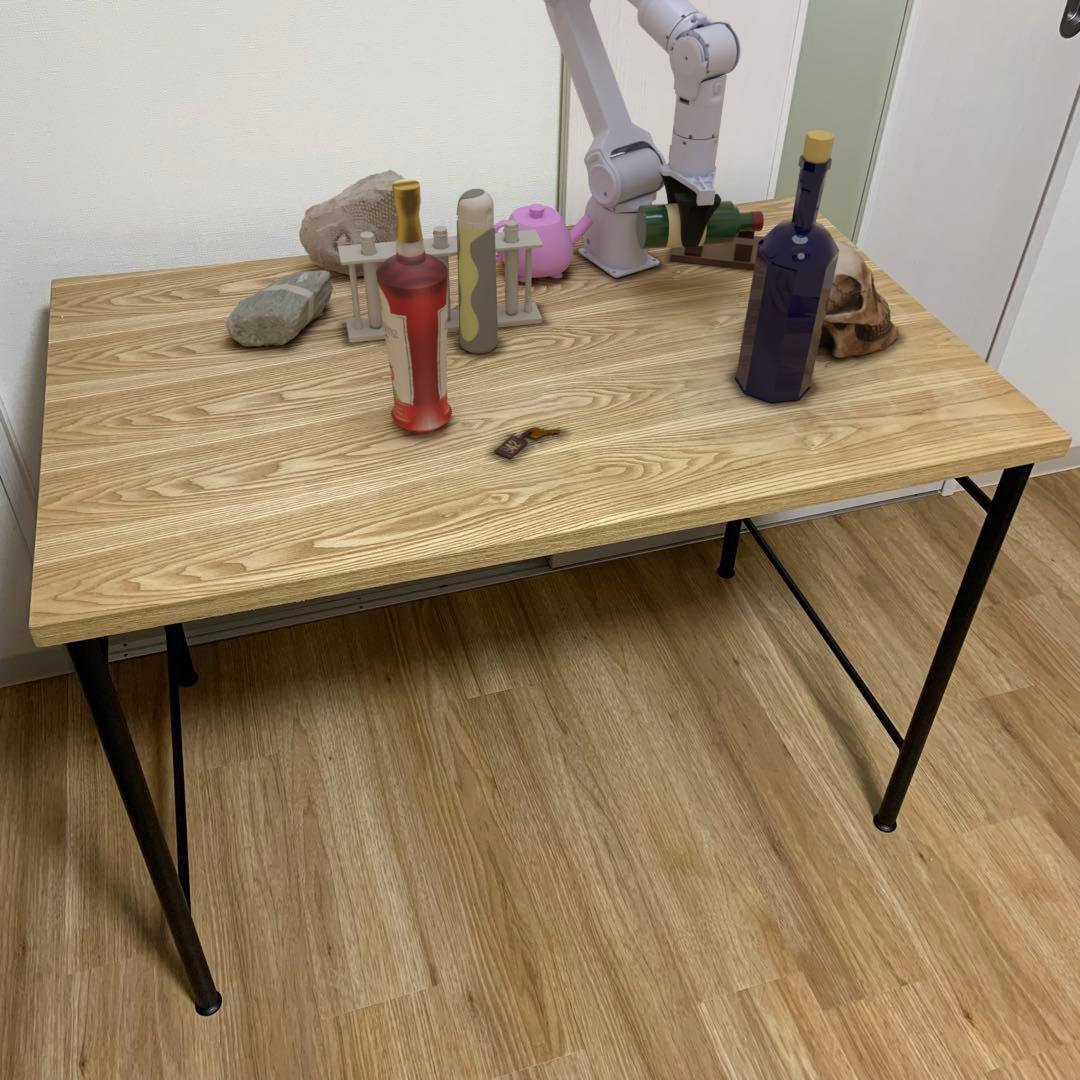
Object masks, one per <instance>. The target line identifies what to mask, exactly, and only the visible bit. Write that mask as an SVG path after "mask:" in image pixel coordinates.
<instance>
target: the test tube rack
mask: <svg viewBox="0 0 1080 1080" xmlns="http://www.w3.org/2000/svg"><path fill="white" fill-rule="evenodd" d="M507 220H508V219H507ZM503 229H505V232H503V231H501V232H498V233H495V252H496V251H505V264H504V304H497V322H498V328H509V327H517V326H528V325H529V326H530V325H539V324H543V317H542V314H541V312H540V310H539V307H538V305H537V303H536V301H532V280H531V276H532V249H533V248H541V247H543V244H542V241H541V239H540V237H539V235H538V233H537V231H536V230H523V231H518V229H519V226H518V222H517V221H515V220H508V221H506V222H505V225H504V227H503ZM432 235H433V237H432V238H431V237H430V238H423V242H424V249H425V253H427V254H430V255H432V256H434V257H435V258H437V259H438V260H440V261H441V262H443V263H444V264H445V265H446V267H447V269H448V286H447V292H448V322H447V334H450V333H459V308H456V309H455V308H454V309H451V308H452V307H451V285H450V262H449V257H451V256H457V235H454V236H448V235H449V232H448V228H447V227H446V226H444V225H436V226H434V227H433V231H432ZM360 237H361V238H360V241H361V244H359V245H348V246H338V251H339V256H340V262H341V265H348V266H349V275H348V276H349V282H350V283H349V284H350V292H351V300H352V309H353V317H354V318H352V319H346V320H345V324H346V330H347V336H348V342H349V343H350V344H352V343H361V342H371V341H381V340H386V338H385V332H384V326H383V320H382V313H381V306H380V298H379V290H378V284H377V277H376V270H377V262H383V261H385V260H387V259H388V258H389V257H391V256H393V255H395V254H396V241H394V242H383V243H375V237H374V234H373V233H372V232H364V233H361V234H360ZM504 240H505V241H504ZM518 240H519V241H518ZM519 249H526V250H525V282H524V287H525V288H524V302H519V280H518V278H519V275H518V250H519ZM361 253H362V254H361ZM361 263H363V270H364V276H363V279H364V288H365V298H366V307H367V316H368V317H363V318H361V317H362V315H361V307H360V297H359V288H358V278H357V277H356V269H355V264H361Z"/></svg>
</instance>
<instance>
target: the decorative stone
mask: <svg viewBox="0 0 1080 1080" xmlns="http://www.w3.org/2000/svg"><path fill="white" fill-rule="evenodd" d="M333 290H334V287H333V284H332V275H331V273H330V271H329V270H321V269H320V270H314V271H313V270H307V271H300V272H297V273H296V272H295V273H293V274H291V275H285V276H283V277H281V278H279V279H278V280H275V281H274V282H272V283H270V284H269V285H267V286H266V287H263V288H262V289H260V290H258V291H257V292H256V293H253V294H251V295H248V296H247V297H244V298H241V299H239V300H238V304H237V306H236V307H235V308H234V309H233V311H232V312H231V313H230V314H229V316H228V317H227V319H226V321H225V324H226V325H225V326H226V328H227V332H228V333H229V335H230V336H231V338H232V339H233V340H234V342H237V343H239V344H240V345H241V346H243V347H262V346H264V347H270V346H274V347H275V346H276V347H277V346H283V345H284V346H285V345H286V344H287V343H288V342H290V341H291V340H293V339H294V338H296V337H297V336H298V334H299V333H300V332H301V331H302V330H304V329H306V326H307V325H309V324H310V323H312V322H314V321H315V320H316V319H317V318H319V317H321V316H323V315H324V312H323V311H324V308H325V307H326V306H327V305H328V304H329V303H330V301H331V298H332V293H333Z"/></svg>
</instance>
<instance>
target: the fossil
mask: <svg viewBox="0 0 1080 1080" xmlns="http://www.w3.org/2000/svg"><path fill="white" fill-rule="evenodd" d="M402 179H405V178H404V176H402V175H400V174H399V173H397V172H396V171H394V170H392V169H388V170H386V171H383V172H379V173H375V174H370V175H368V176H366V177H363V178H360V179H359V180H357V181H356V182H355V183H352V184H351V185H349V186H348V187H346V188H345V189H343V190H342V191H341V192H340V193H339V194H337V195H335V196H333V197H331V198H330V199H327V200H325V201H322V202H321V203H317V204H314V205H311V206H310V207H309V208H307V209H306V210H305V212H304V217H303V219H302V220H301V224H300V225H301V227H300V228H299V231H298V234H299V235H298V236H299V241H300V244H301V246H302V247H303V248H304V251H305V252H306V253H307V254H308V258H309V259H310V261H311V262H312V263H314V264H316V265H317V266H320V267H322V268H324V269H326V270H327V271H334V272H337V273H339V274H343V275H347V276H350V275H349V266H348V265H341V262H340V256H339V251H338V246H348V245H359V244H361V241H360V238H361V237H360V234H361V233H364V232H372V233H373V234H374V237H375V243H383V242H394V241H396V239H397V214H396V210H395V206H394V202H393V189H392V184H393V183H394V182H395V181H398V180H402ZM361 254H362V253H361ZM383 262H384V261H383ZM383 262H377V268H378V267H379V266H380V264H382V263H383ZM355 269H356V278H357V277H358V278H359V277H364V270H363V263H361V264H355Z"/></svg>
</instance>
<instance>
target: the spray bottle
mask: <svg viewBox="0 0 1080 1080" xmlns="http://www.w3.org/2000/svg"><path fill="white" fill-rule="evenodd" d="M456 208H457V209H456V216H457V220H456V236H457V255H456V257H457V296H458V297H457V298H458V300H457V301H458V309H459V332H458V337H459V338H458V339H459V345H460V347H461V349H463V350H464V351H466V352H468V353H471V354H486V353H488V352H491V351H493V350H495V349H496V347H497V346H498V343H499V329H498V322H497V305H498V294H497V292H498V291H497V261H496V255H497V253H496V252H495V228H494V225H495V224H494V221H495V219H494V217H495V216H494V215H495V213H494V212H495V211H494V200H493V197H492V196H491V195H490V193H488V191H486V190H484V189H483V188H471V189H468V190H466V191H465V192H463V194H461V196H460V197H459V199H458V200H457V207H456Z"/></svg>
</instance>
